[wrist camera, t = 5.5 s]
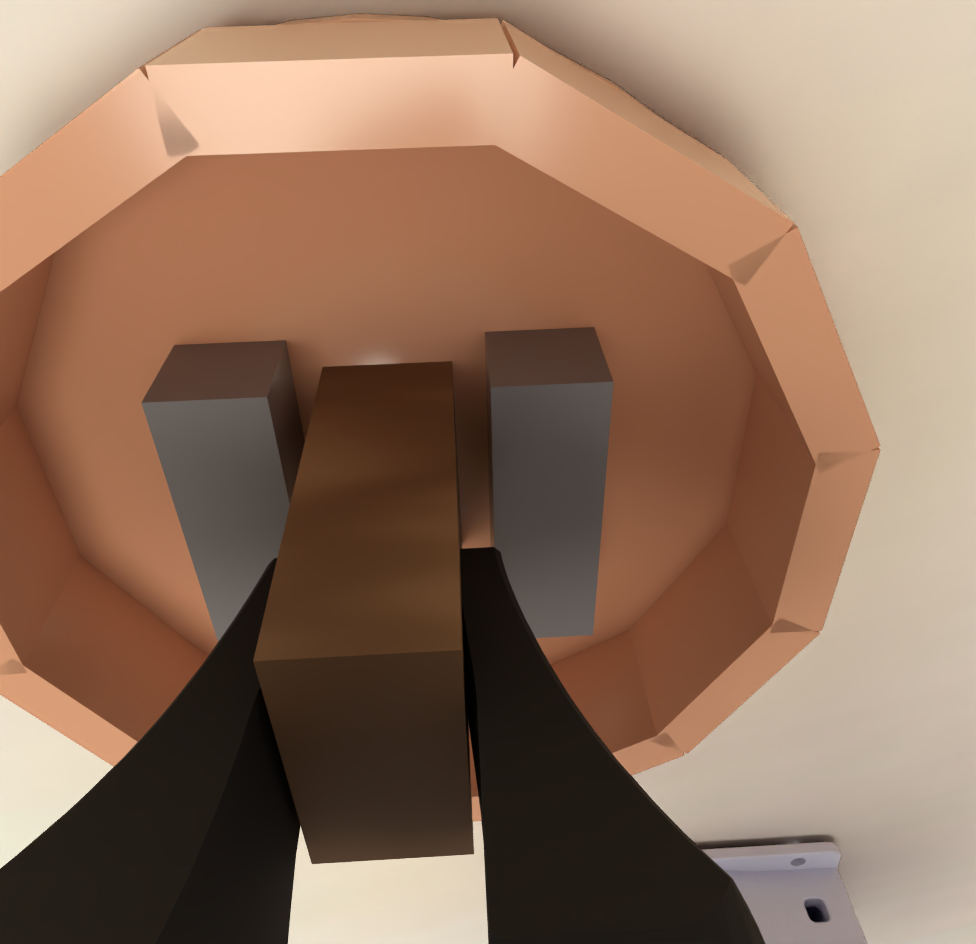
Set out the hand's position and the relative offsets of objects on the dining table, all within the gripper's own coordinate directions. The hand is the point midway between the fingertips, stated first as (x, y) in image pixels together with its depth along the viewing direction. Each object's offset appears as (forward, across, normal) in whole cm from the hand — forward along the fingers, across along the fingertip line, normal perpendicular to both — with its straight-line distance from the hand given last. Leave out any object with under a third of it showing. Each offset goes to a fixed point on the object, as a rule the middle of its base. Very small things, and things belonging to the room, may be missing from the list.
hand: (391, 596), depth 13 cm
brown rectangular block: (+4, 0, 0) cm, 4 cm away
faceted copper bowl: (+5, 0, 0) cm, 5 cm away
